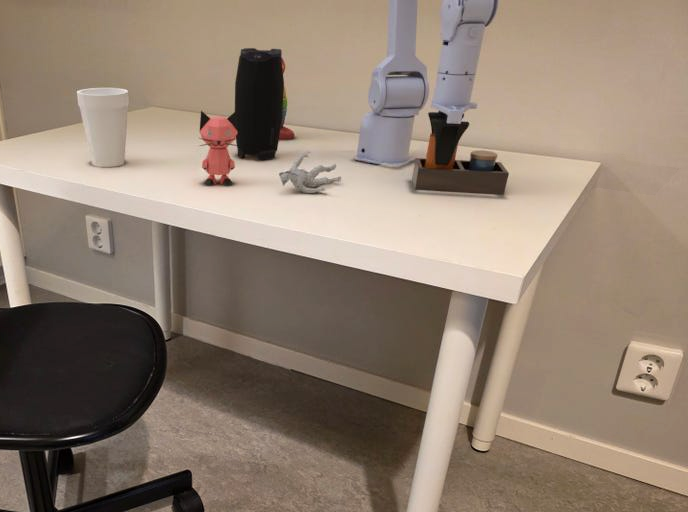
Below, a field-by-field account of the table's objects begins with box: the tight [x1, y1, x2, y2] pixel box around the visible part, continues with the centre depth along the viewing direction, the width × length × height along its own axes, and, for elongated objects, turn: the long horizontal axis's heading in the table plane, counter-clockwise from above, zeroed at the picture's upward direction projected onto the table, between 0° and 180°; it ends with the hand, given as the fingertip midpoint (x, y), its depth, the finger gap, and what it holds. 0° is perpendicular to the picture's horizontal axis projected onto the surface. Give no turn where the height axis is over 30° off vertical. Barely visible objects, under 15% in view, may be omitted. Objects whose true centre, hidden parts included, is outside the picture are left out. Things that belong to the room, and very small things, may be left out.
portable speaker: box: [234, 47, 285, 161], centre depth 124 cm, size 9×9×20 cm
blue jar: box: [468, 150, 499, 171], centre depth 107 cm, size 4×4×6 cm
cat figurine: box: [198, 110, 239, 186], centre depth 109 cm, size 7×7×12 cm
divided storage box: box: [411, 157, 510, 196], centre depth 108 cm, size 7×14×4 cm, turn 78°
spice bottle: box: [424, 132, 459, 169], centre depth 106 cm, size 5×5×8 cm
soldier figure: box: [278, 150, 342, 194], centre depth 108 cm, size 8×5×12 cm
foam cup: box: [76, 87, 130, 168], centre depth 121 cm, size 10×9×13 cm
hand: (440, 160), depth 107 cm, fingers closed on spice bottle, 4 cm apart
